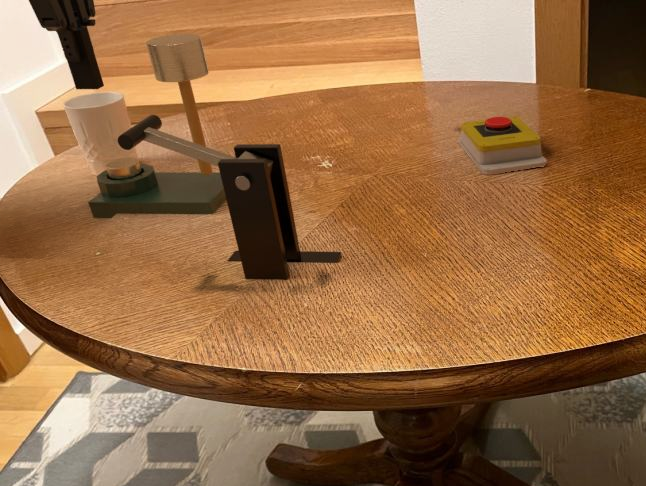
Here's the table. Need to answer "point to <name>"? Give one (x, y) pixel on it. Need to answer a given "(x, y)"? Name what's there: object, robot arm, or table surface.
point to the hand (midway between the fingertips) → (90, 87)
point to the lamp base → (158, 193)
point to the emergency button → (501, 145)
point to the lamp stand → (182, 75)
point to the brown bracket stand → (264, 214)
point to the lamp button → (123, 168)
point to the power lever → (175, 143)
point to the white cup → (99, 127)
